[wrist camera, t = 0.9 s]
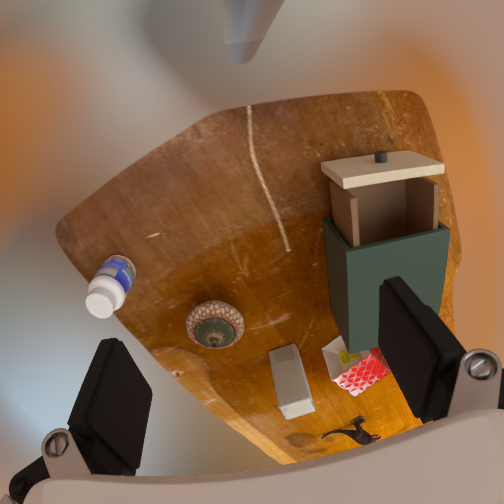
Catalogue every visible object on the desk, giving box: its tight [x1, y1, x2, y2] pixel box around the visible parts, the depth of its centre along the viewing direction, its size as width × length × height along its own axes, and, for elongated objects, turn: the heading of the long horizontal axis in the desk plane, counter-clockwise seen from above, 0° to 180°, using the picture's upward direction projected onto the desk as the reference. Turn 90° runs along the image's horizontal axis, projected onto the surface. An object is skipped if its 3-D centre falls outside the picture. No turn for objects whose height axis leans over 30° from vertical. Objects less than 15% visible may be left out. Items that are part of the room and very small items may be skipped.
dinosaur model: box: [321, 416, 381, 445], centre depth 64 cm, size 4×12×15 cm
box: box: [268, 343, 315, 420], centre depth 50 cm, size 5×4×13 cm
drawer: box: [321, 150, 444, 248], centre depth 39 cm, size 17×13×9 cm
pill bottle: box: [86, 255, 136, 318], centre depth 41 cm, size 5×5×10 cm
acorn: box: [186, 300, 244, 349], centre depth 45 cm, size 8×8×10 cm
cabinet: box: [322, 217, 450, 355], centre depth 43 cm, size 17×15×11 cm
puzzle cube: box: [321, 335, 391, 396], centre depth 52 cm, size 8×8×8 cm
